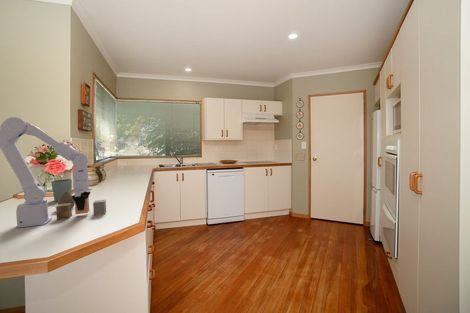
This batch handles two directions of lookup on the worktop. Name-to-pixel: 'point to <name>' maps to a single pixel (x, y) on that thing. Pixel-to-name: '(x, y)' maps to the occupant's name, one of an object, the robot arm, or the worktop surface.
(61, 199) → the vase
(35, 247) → the worktop surface
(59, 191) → the teal plant pot
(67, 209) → the walnut block
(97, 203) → the charcoal block
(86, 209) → the terracotta block
